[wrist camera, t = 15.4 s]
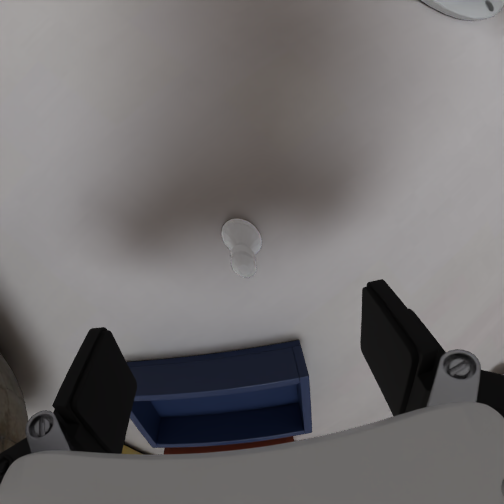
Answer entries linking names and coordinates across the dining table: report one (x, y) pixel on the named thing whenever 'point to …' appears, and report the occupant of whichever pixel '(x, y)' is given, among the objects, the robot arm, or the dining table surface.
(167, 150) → the dining table surface
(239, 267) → the chess pawn
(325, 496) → the robot arm
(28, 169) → the dining table surface
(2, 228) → the dining table surface
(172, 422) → the navy bin
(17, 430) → the bowl
